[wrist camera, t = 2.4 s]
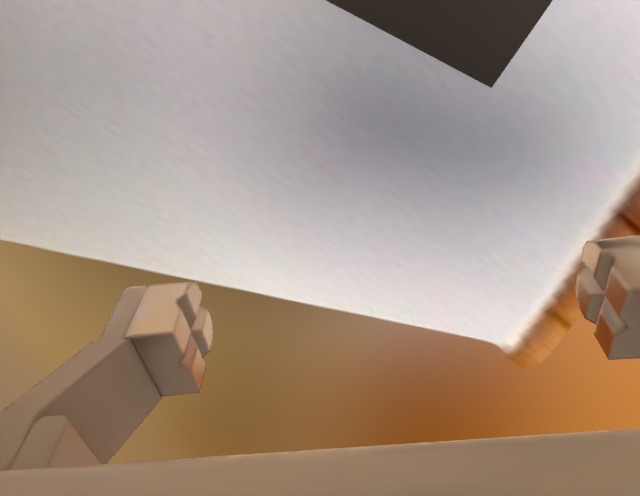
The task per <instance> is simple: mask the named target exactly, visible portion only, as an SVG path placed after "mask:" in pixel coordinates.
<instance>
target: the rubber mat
mask: <svg viewBox="0 0 640 496" xmlns="http://www.w3.org/2000/svg"><path fill="white" fill-rule="evenodd" d="M327 1H329V2H331V3H333V4H335V5H336V6H338V7H340V8H342V9H344V10H346V11H348V12H350V13H351V14H353V15H355V16H357V17H359V18H361V19H363V20H365V21H367V22H368V23H370V24H372V25H374V26H376V27H378V28H380V29H382V30H384V31H385V32H387V33H389V34H391V35H393V36H395V37H397V38H399V39H401V40H402V41H404V42H406V43H408V44H410V45H412V46H414V47H416V48H417V49H419V50H421V51H423V52H425V53H427V54H429V55H431V56H433V57H434V58H436V59H438V60H440V61H442V62H444V63H446V64H448V65H450V66H451V67H453V68H455V69H457V70H459V71H461V72H463V73H465V74H467V75H468V76H470V77H472V78H474V79H476V80H478V81H480V82H482V83H484V84H485V85H487V86H489V87H491V88H492V86H493V85H494V83H495V82H496V81H497V79H498V78H499V76H500V75H501V73H502V72H503V71H504V69H505V68H506V66H507V65H508V63H509V62H510V60H511V59H512V58H513V56H514V55H515V53H516V52H517V50H518V49H519V48H520V46H521V45H522V43H523V42H524V40H525V39H526V38H527V36H528V35H529V33H530V32H531V30H532V29H533V28H534V26H535V25H536V23H537V22H538V20H539V19H540V17H541V16H542V15H543V13H544V12H545V10H546V9H547V7H548V6H549V5H550V3H551V2H552V0H327Z"/></svg>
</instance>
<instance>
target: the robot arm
mask: <svg viewBox="0 0 640 496" xmlns="http://www.w3.org/2000/svg"><path fill="white" fill-rule="evenodd" d="M581 258H582V259H583V261H584V263H585V264H586V267H585V268H584V269H582V270H581V271H580V272H579V273H578V275H577V281H576V296H577V301H578V304H579V307H580V310H581V312H582V314H583V315H584V317H585V319H587V320H589V321H591V322H592V323H594V324H596V329H595V333H594V335H595V337H596V339H597V340H598V342H599V344H600V346H601V347H602V349H603V351H604V353H605V354H606V356H607V358H608V359H609V360H613V359H614V360H615V359H632V358H640V235H639V236H630V237H621V238H611V239H602V240H593V241H587V242H586V244H585V245H584V247H583V251H582V255H581ZM201 297H202V294H201V291H200V289H199V287H198V285H197V284H196V283H194V282H183V283H172V284H159V285H150V286H139V287H129V288H127V289H126V290H124V291H123V293H122V295H121V297H120V299H119V301H118V303H117V305H116V307H115V309H114V311H113V313H112V315H111V317H110V319H109V321H108V323H107V325H106V327H105V329H104V331H103V333H102V335H101V337H100V339H99V341H96V342H91V343H90V344H89V345H87V346H86V347H84V348H83V349H82V350H81V351H79V352H78V353H77V354H75V355H74V356H73V357H71V358H70V359H69V360H68V361H66V362H65V363H64V364H62V365H61V366H60V367H58V368H57V369H56V370H55V371H53V372H52V373H51V374H49V375H48V376H47V377H45V378H44V379H43V380H42V381H40V382H39V383H38V384H36V385H35V386H34V387H33V388H31V389H30V390H29V391H27V392H26V393H25V394H23V395H22V396H21V397H20V398H18V399H17V400H16V401H14V402H13V403H12V404H10V405H9V406H8V407H6V408H5V409H4V410H3V411H1V412H0V496H640V428H639V429H623V430H608V431H593V432H578V433H562V434H547V435H533V436H517V437H503V438H488V439H473V440H457V441H443V442H427V443H412V444H397V445H382V446H367V447H353V448H352V447H351V448H337V449H323V450H322V449H321V450H307V451H291V452H277V453H262V454H247V455H231V456H216V457H201V458H186V459H172V460H156V461H140V462H126V463H112V464H111V463H110V464H107V463H108V461H109V460H110V459H111V458H112V457H113V456H114V454H115V453H116V452H117V451H118V450H119V448H120V447H121V446H122V445H123V444H124V443H125V442H126V440H127V439H128V438H129V437H130V436H131V435H132V433H133V432H134V431H135V430H136V429H137V427H138V426H139V425H140V424H141V423H142V422H143V420H144V419H145V418H146V417H147V416H148V415H149V413H150V412H151V411H152V410H153V409H154V408H155V406H156V405H157V404H158V403H159V402H160V400H161V399H162V398H161V397H163V396H172V395H182V394H191V393H199V392H200V390H201V386H202V382H203V378H204V374H205V370H206V366H205V364H204V361H203V358H204V357H205V356H206V355H207V354H208V353H209V352H210V351H211V346H212V341H213V327H212V321H211V318H210V315H209V312H208V310H207V309H206V308H204V307H203V306H201V305H200V301H201Z"/></svg>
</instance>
